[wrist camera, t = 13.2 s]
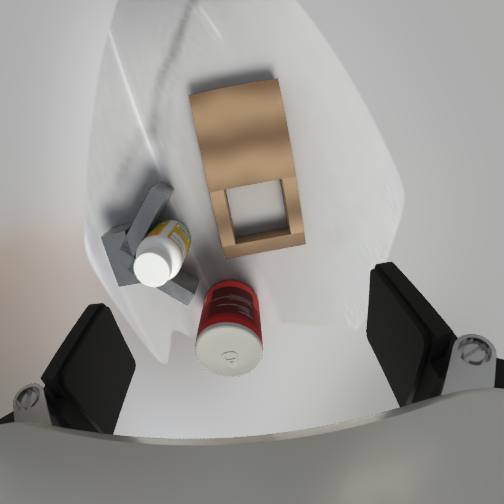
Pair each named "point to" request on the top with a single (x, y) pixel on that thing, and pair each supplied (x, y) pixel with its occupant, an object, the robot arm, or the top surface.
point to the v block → (129, 238)
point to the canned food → (230, 330)
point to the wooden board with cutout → (247, 158)
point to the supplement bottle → (162, 253)
